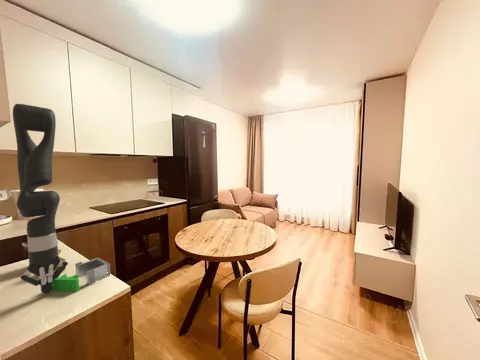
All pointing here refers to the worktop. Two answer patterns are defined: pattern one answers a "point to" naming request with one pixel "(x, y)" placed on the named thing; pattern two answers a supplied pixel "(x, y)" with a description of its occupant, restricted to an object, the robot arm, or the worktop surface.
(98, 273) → the grey u-shaped bracket
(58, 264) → the gold twisted vase
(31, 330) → the worktop surface
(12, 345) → the worktop surface
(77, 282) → the pipe clamp
